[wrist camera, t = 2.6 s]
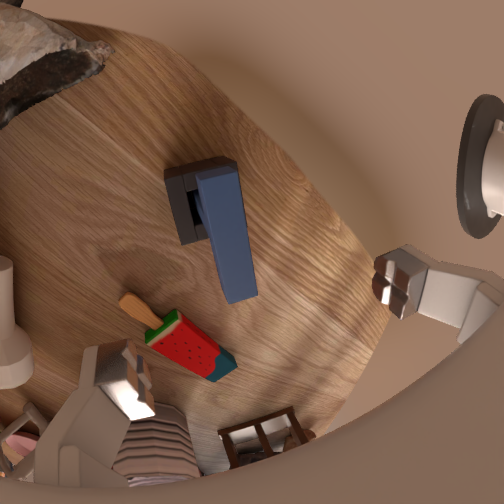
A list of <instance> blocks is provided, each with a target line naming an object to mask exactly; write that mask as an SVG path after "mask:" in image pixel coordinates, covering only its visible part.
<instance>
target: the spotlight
mask: <svg viewBox="0 0 504 504" xmlns="http://www.w3.org/2000/svg"><path fill="white" fill-rule="evenodd" d="M33 370H34V359H33V351H32V343H31V340H30V337H29V335H28V334H27V333H26V332H25V331H24V330H23V329H22V328H21V327H19V326H18V325H17V324H15V318H14V302H13V261H11V260H10V259H9V258H7V257H4V256H1V255H0V389H10V388H15V387H17V386H19V385H22V384H24V383H26V381H27V380H28V379H29V378H30V377H31V376H32V374H33Z"/></svg>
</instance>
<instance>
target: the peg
mask: <svg viewBox="0 0 504 504" xmlns="http://www.w3.org/2000/svg"><path fill="white" fill-rule="evenodd" d="M195 176H196V180H197V185H198V189H195V190H191V194H192V198H193V202H194V204H195V206H196V209H197V211H198V213H199V216H200V218H201V220H202V222H203V225H204V227H205V229H206V231H207V234H208V236H209V238H210V243H211V247H212V251H213V255H214V259H215V263H216V267H217V271H218V275H219V279H220V283H221V287H222V290H223V292H224V295H225V297H226V300H227V302H228V304H232V303H236V302H239V301H242V300H245V299H248V298H252V297H255V296H258V291H257V285H256V279H255V273H254V267H253V261H252V255H251V249H250V243H249V237H248V231H247V225H246V220H245V214H244V208H243V202H242V196H241V190H240V184H239V178H238V172H237V171H236V170H234V169H232V168H231V167H229V166H226V167H221V168H217V169H212V170H208V171H204V172H200V173H196V174H195Z"/></svg>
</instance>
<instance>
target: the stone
mask: <svg viewBox="0 0 504 504" xmlns="http://www.w3.org/2000/svg"><path fill="white" fill-rule="evenodd" d="M303 432H304V433H305V435H306V437H307V439H308V441H309V442H310V441H312V440H314V439H315V438H316V435H315V433H314V432H313V431H311V430H303ZM296 447H298V446H297V444H296V442H295V441H294V439H293V437H292V436H289V437H286V438H285V442H284V447H283V452H286V451H288V450H291V449H293V448H296Z"/></svg>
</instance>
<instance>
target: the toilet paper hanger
mask: <svg viewBox="0 0 504 504" xmlns="http://www.w3.org/2000/svg"><path fill="white" fill-rule="evenodd" d="M23 411H24V413H23V414H22V415H21V416H20V417H18V418H17V419H16V420H15V421H14V422H13V423H11V424H10V425H9V426H8V427H7V428H5V429H4V430H3V431H2V432H1V433H0V465H1V467H2V469H3V471H4V473H5V474H6V476H7V477H8V478H11V479H15V480H20V479H21V478H22V479H24V480H26V477H27V476H29V475H30V474H31V473H32V472H33V471H34V460H35V449H34V450H32V451H31V452H30V453H29V454H28V455H27V456H26V457H25V458H23V459H22V460H21V461H20V462H19V463H18V464H17V465H16V466H15V465H14V466H13V469H14V471H13V472H12V471H11V469H10V468H9V466H8V464H7V462H6V460H5V457H4V454H3V450H2V443H3V442H4V441H5V440H6V439H7V438H9V437H10V436H11V435H12V434H13V433H14V432H15V431H17V430H18V429H19V428H20V427H21V426H22V425H24V424H25V423H26V422H27V421H28V420H31V421H32V422H34V423H35V424H36V425H37V426H38V428H39V434H40V437H41V436H42V434H43V433H44V431H45V430H46V428H47V427H48V425H49V424H50V422H49V421H46V420H45V419H44V418H43V416H42V415H41V413H40V412H39V411H38V409H37V408H36V407H35V406H34V404H33V403H32V402H29V403H27V404H26V405H25V406H24V407H23Z"/></svg>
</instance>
